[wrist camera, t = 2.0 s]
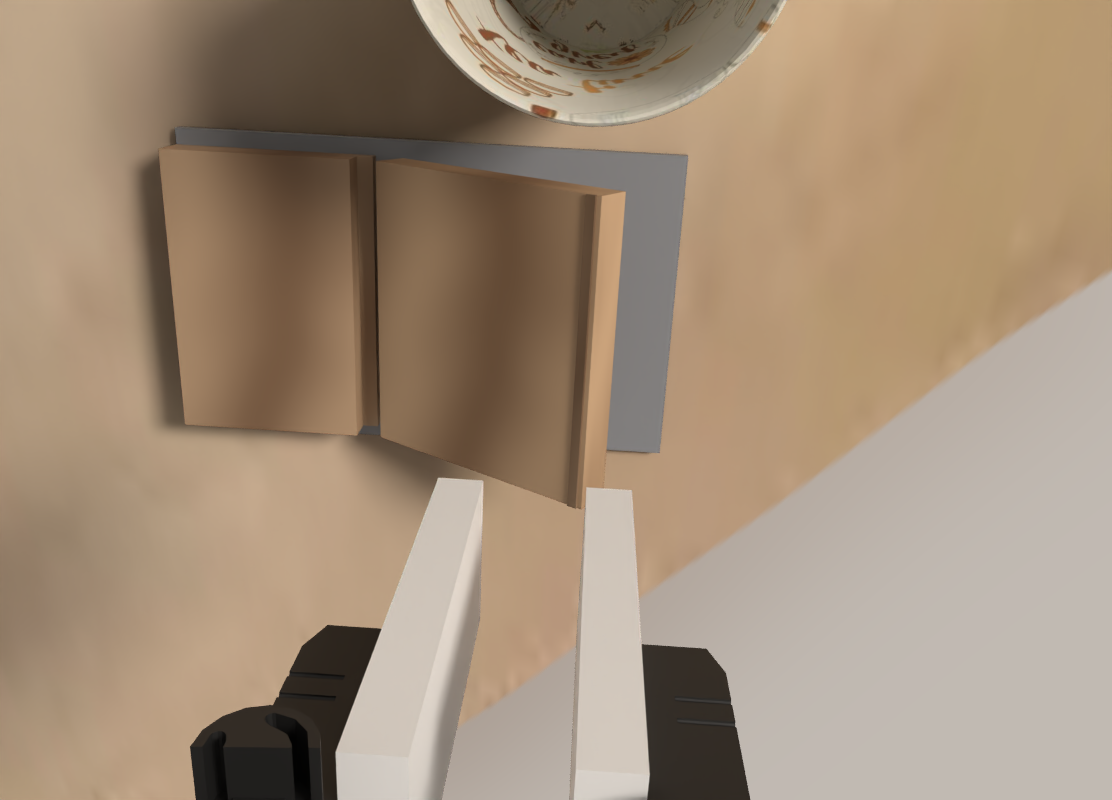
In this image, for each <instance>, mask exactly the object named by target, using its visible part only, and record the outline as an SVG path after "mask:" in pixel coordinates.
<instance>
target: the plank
mask: <svg viewBox="0 0 1112 800" xmlns="http://www.w3.org/2000/svg"><path fill="white" fill-rule="evenodd" d="M625 196H626V191H619V190H612V189H606V188H599V187H592V186H586V185H579V184H572V183H566V182H559V181H552V180H546V179H539V178H532V177H526V176H519V175H512V174H506V173H499V172H492V171H486V170H479V169H472V168H466V167H459V166H452V165H446V164H439V163H432V162H426V161H419V160H412V159H406V158H400V159H391V160H381V161H376V201H377V257H378V313H379V369H380V425H381V437H382V438H385V439H387V440H390V441H393V442H396V443H398V444H401V445H404V446H407V447H410V448H412V449H415V450H418V451H421V452H423V453H426V454H429V455H432V456H434V457H437V458H440V459H443V460H446V461H448V462H451V463H454V464H457V465H459V466H462V467H465V468H468V469H471V470H473V471H476V472H479V473H482V474H484V475H487V476H490V477H493V478H496V479H498V480H501V481H504V482H507V483H509V484H512V485H515V486H518V487H520V488H523V489H526V490H529V491H532V492H534V493H537V494H540V495H543V496H545V497H548V498H551V499H554V500H557V501H559V502H562V503H565V504H567V506H569V507H572V508H575V509H576V508H579V509H583V508H584V507H585V502H586V487H589V488H604V477H605V464H606V450H607V437H608V423H609V410H610V397H611V383H612V370H613V357H614V343H615V330H616V317H617V303H618V290H619V276H620V263H621V250H622V236H623V223H624V210H625Z"/></svg>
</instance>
